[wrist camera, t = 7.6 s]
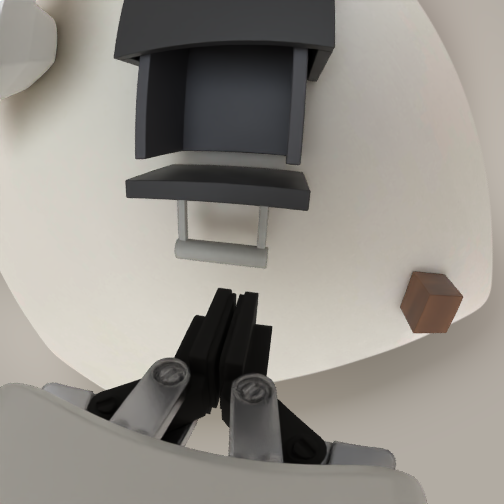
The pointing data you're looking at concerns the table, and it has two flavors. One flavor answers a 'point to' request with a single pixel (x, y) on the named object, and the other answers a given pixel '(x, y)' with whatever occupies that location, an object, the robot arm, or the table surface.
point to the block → (430, 303)
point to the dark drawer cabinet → (227, 27)
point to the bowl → (24, 45)
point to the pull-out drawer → (222, 135)
